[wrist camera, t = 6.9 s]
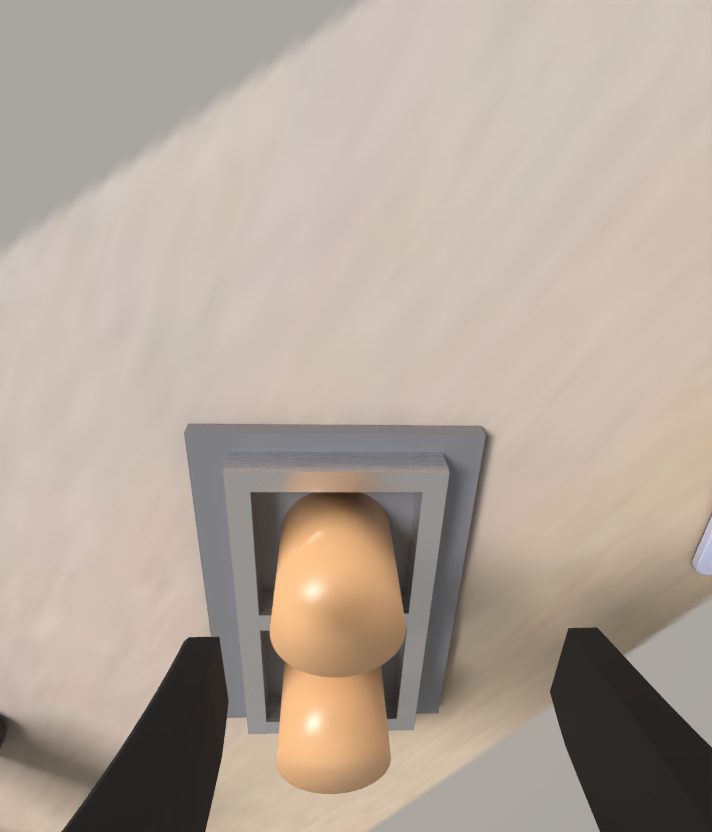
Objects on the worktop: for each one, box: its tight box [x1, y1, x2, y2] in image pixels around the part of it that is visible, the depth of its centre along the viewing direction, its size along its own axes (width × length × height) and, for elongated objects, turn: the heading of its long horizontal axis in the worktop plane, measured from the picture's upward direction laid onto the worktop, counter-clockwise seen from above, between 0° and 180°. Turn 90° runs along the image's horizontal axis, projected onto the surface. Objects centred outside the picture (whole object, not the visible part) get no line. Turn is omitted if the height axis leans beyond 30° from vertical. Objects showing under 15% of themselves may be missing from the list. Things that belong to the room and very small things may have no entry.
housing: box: [184, 424, 486, 794], centre depth 20 cm, size 10×15×5 cm, turn 178°
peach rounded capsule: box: [270, 492, 406, 678], centre depth 18 cm, size 4×4×4 cm
